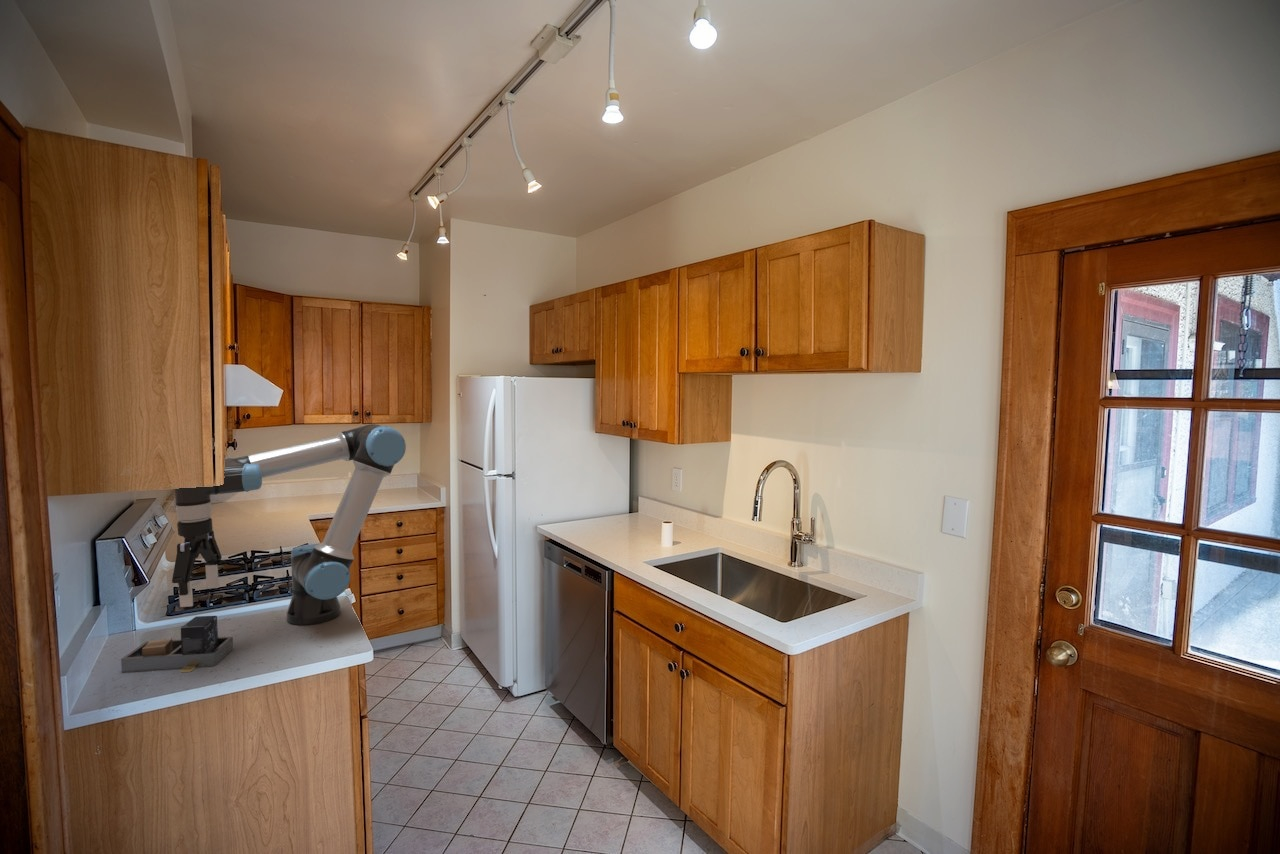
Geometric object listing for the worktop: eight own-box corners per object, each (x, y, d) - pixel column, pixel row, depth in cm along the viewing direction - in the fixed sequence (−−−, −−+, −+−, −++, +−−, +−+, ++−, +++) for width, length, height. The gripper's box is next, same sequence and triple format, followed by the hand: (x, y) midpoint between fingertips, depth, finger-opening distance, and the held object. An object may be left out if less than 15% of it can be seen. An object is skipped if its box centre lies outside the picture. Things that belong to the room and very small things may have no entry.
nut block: (150, 658, 167) (149, 641, 166) (173, 656, 168) (172, 638, 168) (143, 667, 162) (141, 648, 162) (165, 664, 164) (164, 646, 163)
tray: (146, 653, 169) (146, 641, 169) (233, 648, 173) (232, 636, 173) (115, 676, 157) (114, 663, 156) (209, 670, 160) (209, 657, 160)
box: (205, 664, 164) (203, 626, 163) (181, 666, 163) (179, 627, 162) (219, 651, 171) (217, 614, 170) (196, 653, 170) (194, 615, 169)
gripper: (203, 509, 175) (208, 581, 177) (150, 532, 151) (157, 615, 153) (232, 508, 177) (237, 580, 179) (184, 530, 152) (191, 613, 154)
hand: (200, 596), depth 166 cm, fingers open, 13 cm apart
